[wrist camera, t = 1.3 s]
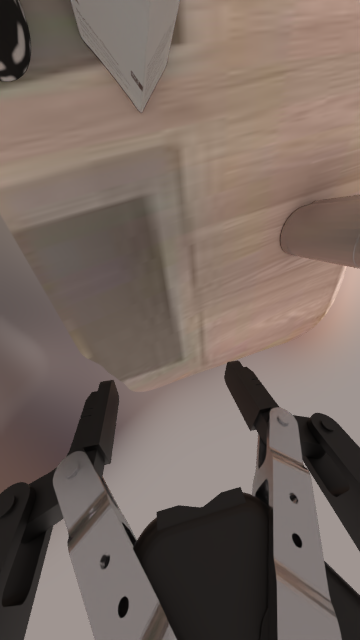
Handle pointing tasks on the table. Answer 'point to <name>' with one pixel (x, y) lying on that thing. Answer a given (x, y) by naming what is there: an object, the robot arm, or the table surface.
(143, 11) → the skincare box
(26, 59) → the white-spotted black cylinder
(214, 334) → the table surface
